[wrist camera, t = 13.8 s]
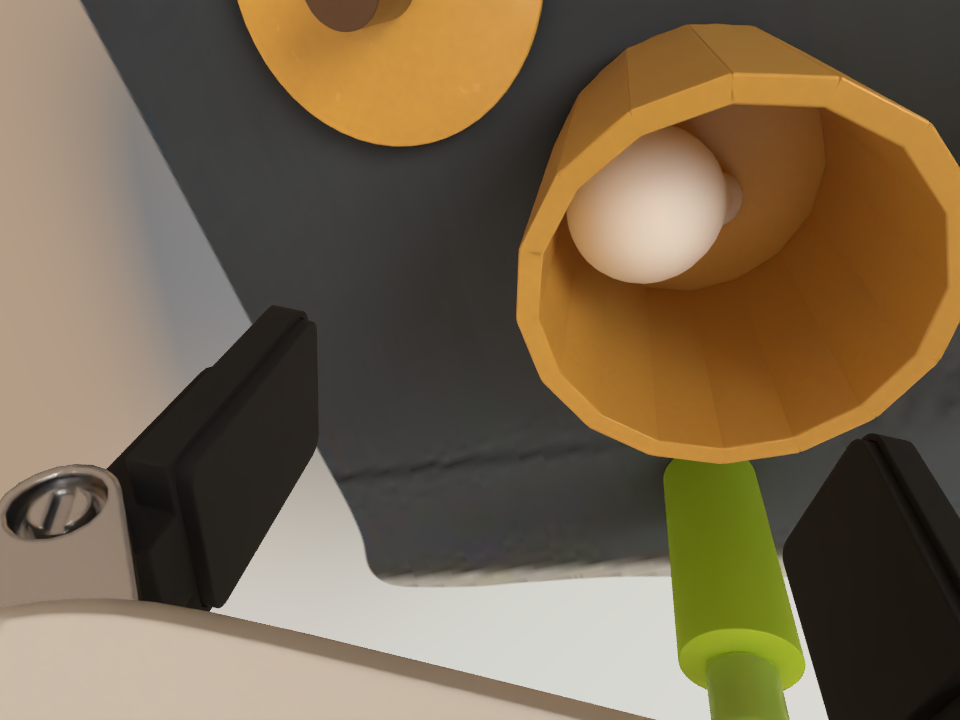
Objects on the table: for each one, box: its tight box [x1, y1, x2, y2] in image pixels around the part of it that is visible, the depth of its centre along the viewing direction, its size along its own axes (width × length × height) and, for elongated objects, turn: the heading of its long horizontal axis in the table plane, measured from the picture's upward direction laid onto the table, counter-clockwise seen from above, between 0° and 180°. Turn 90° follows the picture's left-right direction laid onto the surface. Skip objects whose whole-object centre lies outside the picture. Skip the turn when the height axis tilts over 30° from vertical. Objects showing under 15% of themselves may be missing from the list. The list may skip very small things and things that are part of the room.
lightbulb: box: [566, 125, 743, 284], centre depth 26 cm, size 6×6×11 cm
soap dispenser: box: [663, 458, 805, 720], centre depth 33 cm, size 6×7×20 cm
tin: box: [516, 24, 960, 464], centre depth 25 cm, size 14×14×14 cm
